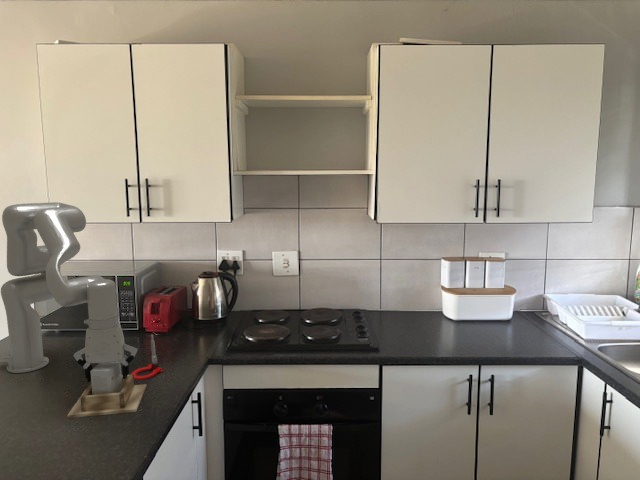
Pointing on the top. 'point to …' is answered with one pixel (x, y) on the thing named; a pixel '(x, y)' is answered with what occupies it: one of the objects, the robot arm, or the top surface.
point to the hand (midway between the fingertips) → (108, 378)
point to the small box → (106, 378)
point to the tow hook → (153, 365)
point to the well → (109, 400)
